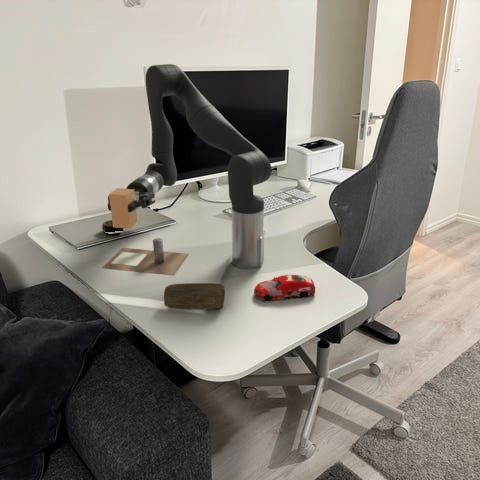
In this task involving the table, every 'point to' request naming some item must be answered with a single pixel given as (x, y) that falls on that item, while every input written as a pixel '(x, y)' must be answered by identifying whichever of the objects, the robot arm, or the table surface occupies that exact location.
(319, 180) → the table surface
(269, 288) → the race car
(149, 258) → the board
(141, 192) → the robot arm
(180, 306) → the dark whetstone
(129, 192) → the tall wooden pillar
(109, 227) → the tape measure
